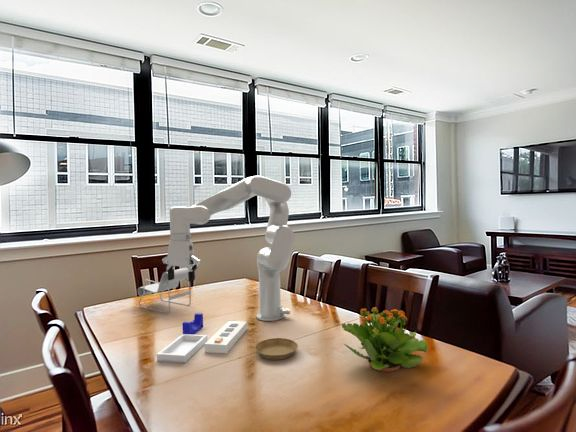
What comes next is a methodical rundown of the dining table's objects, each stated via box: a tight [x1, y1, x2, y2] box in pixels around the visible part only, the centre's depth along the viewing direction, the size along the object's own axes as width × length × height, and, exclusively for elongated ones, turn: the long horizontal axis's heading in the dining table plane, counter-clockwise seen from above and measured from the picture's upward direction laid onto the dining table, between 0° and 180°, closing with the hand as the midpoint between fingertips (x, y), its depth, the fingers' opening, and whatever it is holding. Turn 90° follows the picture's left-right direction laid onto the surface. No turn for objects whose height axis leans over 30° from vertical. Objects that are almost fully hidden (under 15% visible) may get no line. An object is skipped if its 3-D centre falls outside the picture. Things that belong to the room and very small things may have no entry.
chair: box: [137, 267, 192, 314], centre depth 183 cm, size 13×25×20 cm, turn 58°
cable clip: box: [182, 312, 204, 335], centre depth 146 cm, size 12×4×6 cm, turn 168°
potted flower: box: [341, 306, 428, 373], centre depth 112 cm, size 25×24×18 cm
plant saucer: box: [254, 337, 298, 361], centre depth 124 cm, size 15×15×3 cm
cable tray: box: [156, 333, 208, 364], centre depth 127 cm, size 10×18×2 cm, turn 169°
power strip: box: [204, 320, 248, 354], centre depth 137 cm, size 8×24×4 cm, turn 169°
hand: (181, 280), depth 143 cm, fingers open, 9 cm apart
